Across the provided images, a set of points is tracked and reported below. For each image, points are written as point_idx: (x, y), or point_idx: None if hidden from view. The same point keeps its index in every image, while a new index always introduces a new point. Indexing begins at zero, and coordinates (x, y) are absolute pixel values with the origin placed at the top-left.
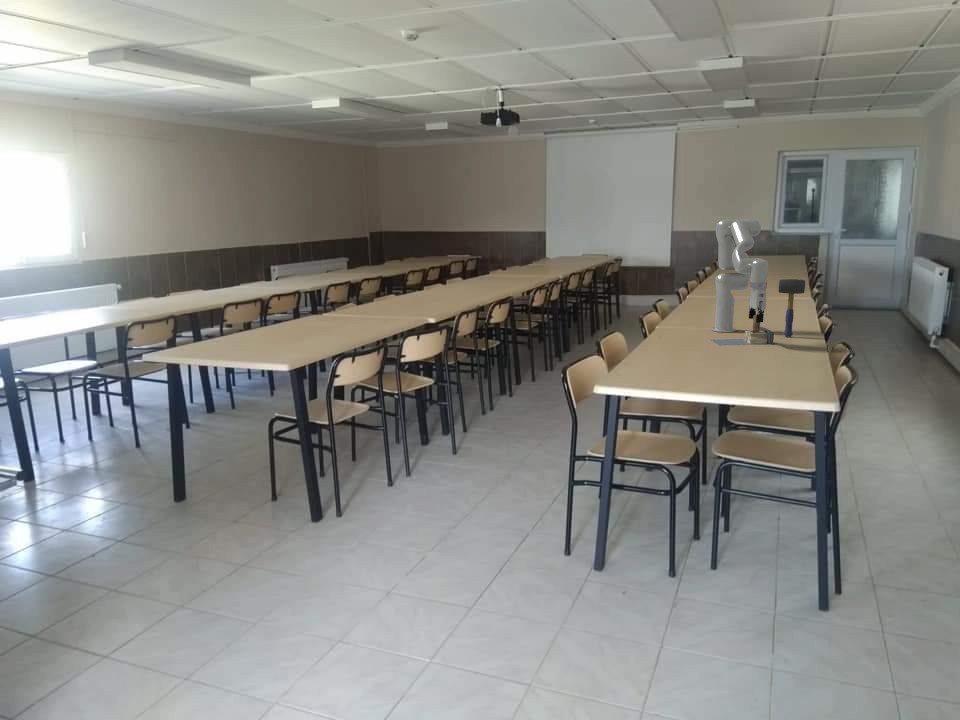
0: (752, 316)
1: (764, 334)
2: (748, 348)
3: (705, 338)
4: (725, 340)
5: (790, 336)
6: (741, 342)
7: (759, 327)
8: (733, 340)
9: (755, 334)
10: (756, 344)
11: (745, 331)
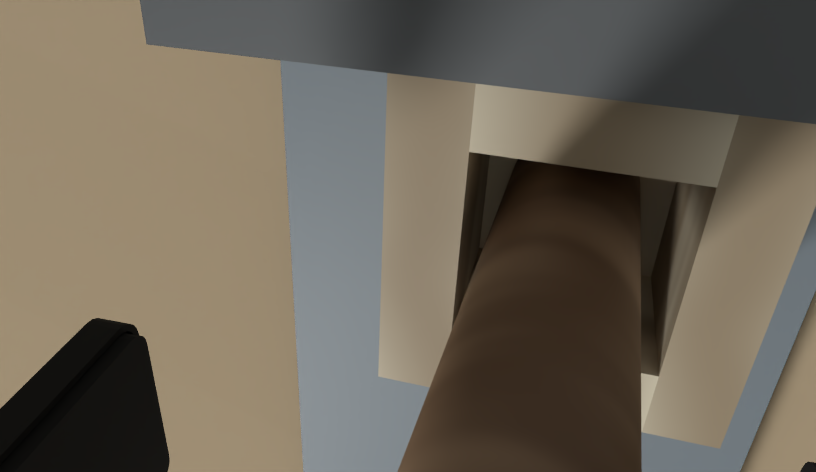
0: (120, 455)
1: (813, 173)
2: (807, 368)
3: None
4: (381, 462)
5: None
6: None
7: (626, 298)
8: (393, 388)
9: (746, 359)
10: (808, 268)
11: (406, 374)
